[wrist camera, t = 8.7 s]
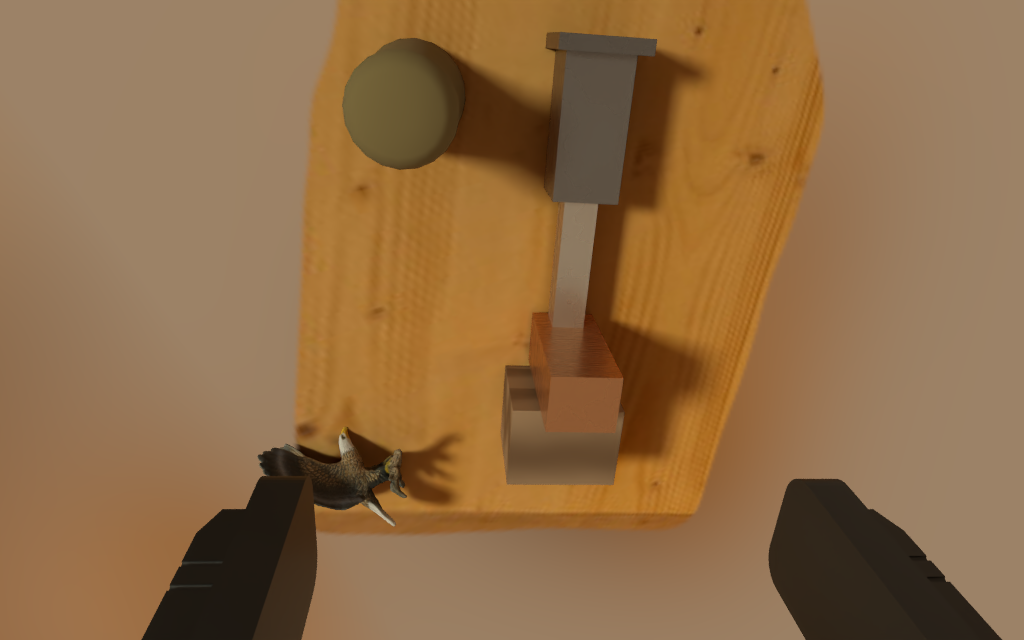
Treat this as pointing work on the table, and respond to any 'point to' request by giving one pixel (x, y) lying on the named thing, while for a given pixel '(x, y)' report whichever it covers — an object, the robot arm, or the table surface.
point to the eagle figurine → (338, 475)
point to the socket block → (550, 442)
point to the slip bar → (573, 338)
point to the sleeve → (590, 114)
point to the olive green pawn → (404, 103)
